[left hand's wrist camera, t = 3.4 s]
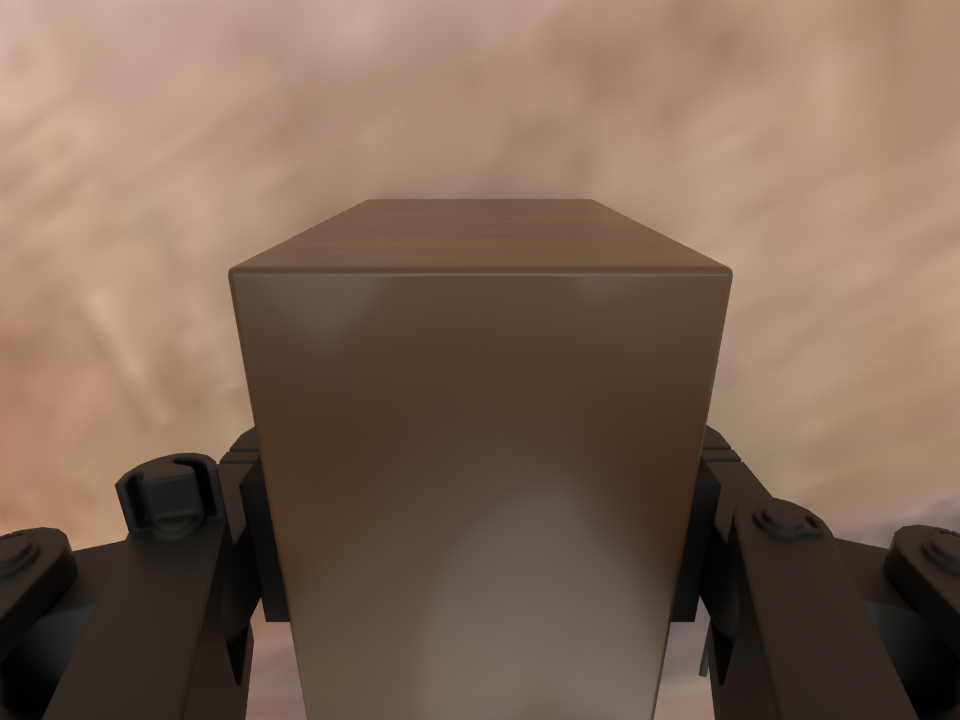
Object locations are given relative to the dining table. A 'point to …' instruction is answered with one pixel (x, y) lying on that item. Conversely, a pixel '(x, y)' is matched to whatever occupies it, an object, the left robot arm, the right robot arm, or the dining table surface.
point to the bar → (480, 452)
